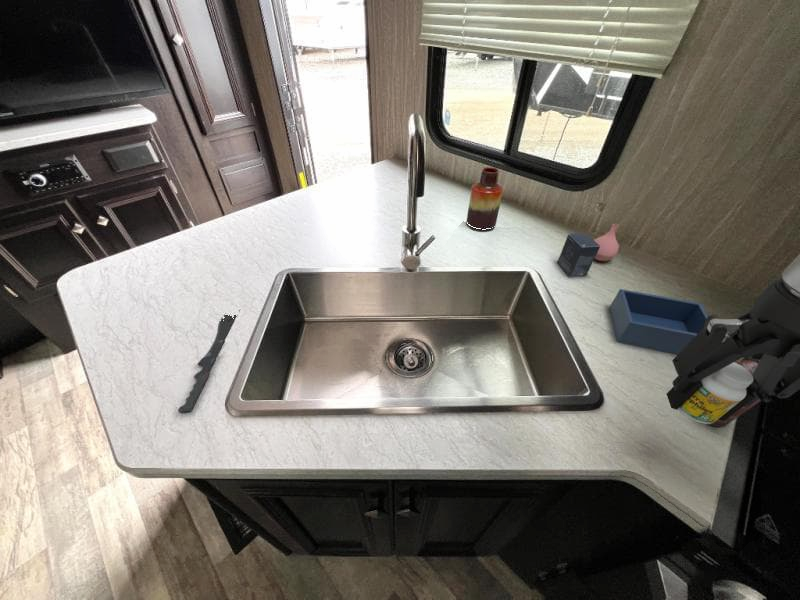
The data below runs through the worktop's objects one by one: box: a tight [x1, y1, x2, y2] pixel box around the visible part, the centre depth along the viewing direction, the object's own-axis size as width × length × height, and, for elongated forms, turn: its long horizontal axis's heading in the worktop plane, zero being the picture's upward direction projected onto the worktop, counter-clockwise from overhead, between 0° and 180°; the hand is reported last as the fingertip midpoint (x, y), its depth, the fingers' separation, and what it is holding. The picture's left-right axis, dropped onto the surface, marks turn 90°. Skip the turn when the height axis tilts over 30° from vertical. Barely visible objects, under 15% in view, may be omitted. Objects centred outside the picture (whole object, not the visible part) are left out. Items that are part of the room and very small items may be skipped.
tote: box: [608, 288, 709, 356], centre depth 76 cm, size 18×13×7 cm
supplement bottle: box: [677, 362, 754, 425], centre depth 47 cm, size 5×5×10 cm
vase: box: [465, 166, 504, 233], centre depth 113 cm, size 11×11×20 cm
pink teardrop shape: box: [593, 223, 620, 262], centre depth 99 cm, size 8×8×12 cm
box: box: [557, 232, 600, 278], centre depth 95 cm, size 8×6×11 cm
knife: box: [177, 309, 241, 413], centre depth 74 cm, size 32×4×1 cm, turn 2°
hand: (694, 406), depth 50 cm, fingers closed on supplement bottle, 5 cm apart
